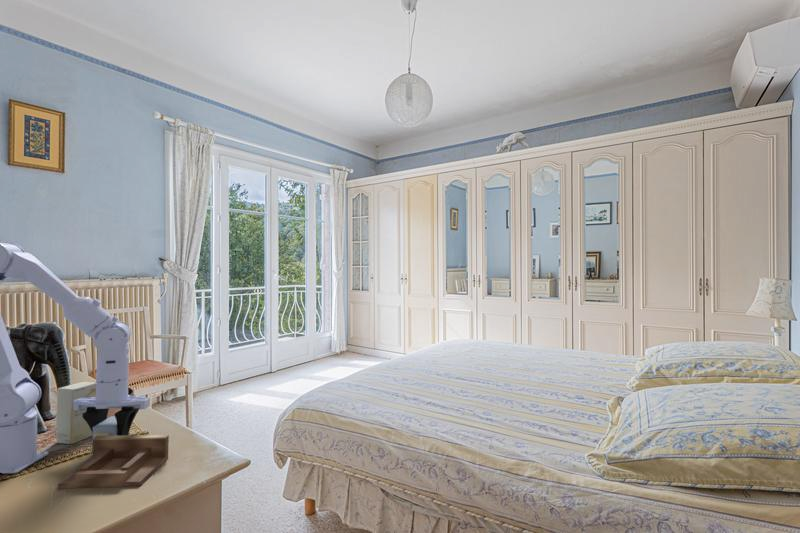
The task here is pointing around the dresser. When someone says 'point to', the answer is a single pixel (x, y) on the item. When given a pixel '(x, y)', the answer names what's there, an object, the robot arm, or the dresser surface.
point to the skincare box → (73, 412)
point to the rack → (120, 461)
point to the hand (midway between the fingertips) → (111, 441)
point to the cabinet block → (105, 429)
